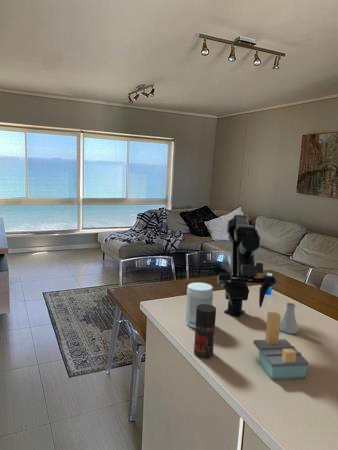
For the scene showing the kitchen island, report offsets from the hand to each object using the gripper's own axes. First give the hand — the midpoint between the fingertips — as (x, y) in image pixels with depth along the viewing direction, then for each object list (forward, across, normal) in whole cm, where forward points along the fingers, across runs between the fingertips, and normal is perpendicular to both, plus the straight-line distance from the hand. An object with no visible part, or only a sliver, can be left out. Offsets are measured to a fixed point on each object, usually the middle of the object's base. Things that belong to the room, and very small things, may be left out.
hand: (246, 306), depth 108 cm
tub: (+18, +9, -5) cm, 21 cm away
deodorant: (+16, -13, 0) cm, 21 cm away
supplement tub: (+5, -15, +18) cm, 24 cm away
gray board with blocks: (+14, +9, -5) cm, 17 cm away
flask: (+5, +18, +18) cm, 27 cm away
